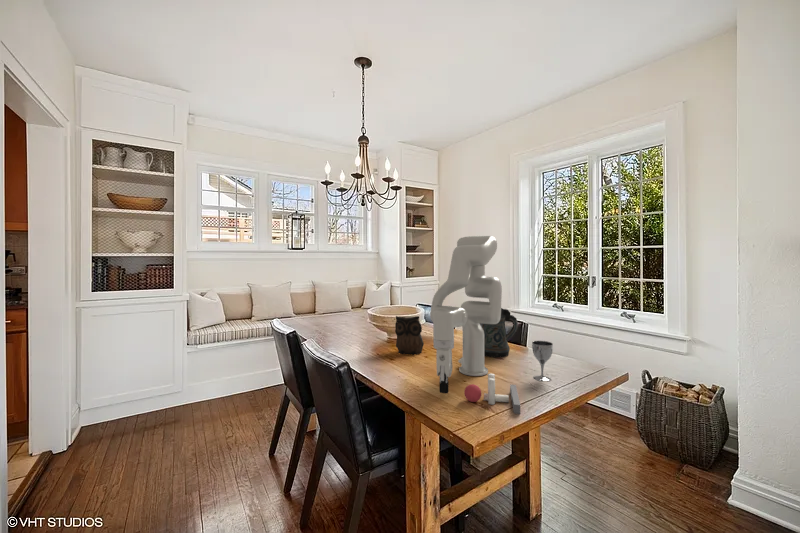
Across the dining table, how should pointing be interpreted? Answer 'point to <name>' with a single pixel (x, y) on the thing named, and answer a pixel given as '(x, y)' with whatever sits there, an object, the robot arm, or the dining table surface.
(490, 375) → the back left pin
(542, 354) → the wine glass
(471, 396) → the ball
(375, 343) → the dining table surface
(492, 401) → the back right pin
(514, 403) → the back wall
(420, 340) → the owl
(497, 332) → the beer stein
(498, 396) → the front pin
